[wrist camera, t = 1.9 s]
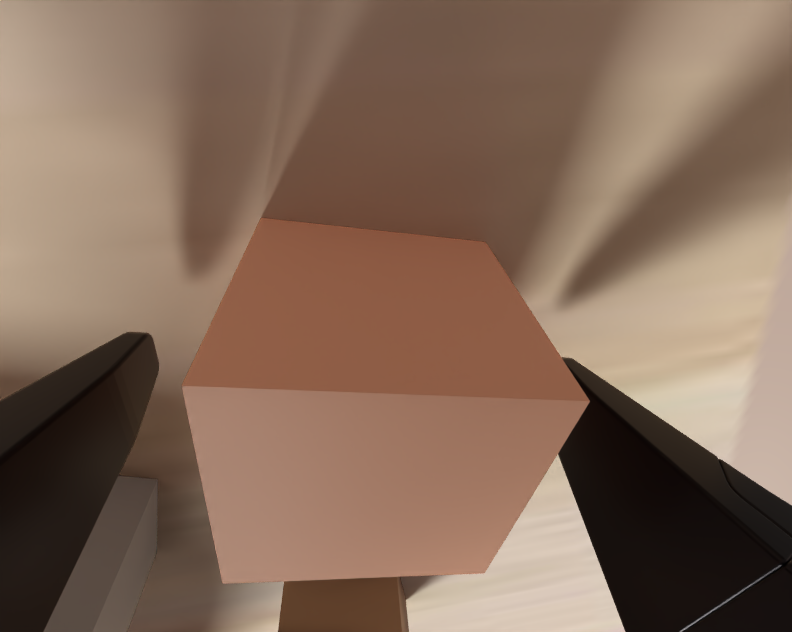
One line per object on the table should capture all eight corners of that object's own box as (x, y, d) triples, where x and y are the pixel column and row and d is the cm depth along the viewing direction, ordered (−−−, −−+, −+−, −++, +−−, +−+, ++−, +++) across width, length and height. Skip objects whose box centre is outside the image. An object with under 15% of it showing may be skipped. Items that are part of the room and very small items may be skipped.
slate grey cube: (157, 549, 16) (91, 728, 12) (6, 541, 14) (-127, 739, 10) (158, 477, 13) (74, 674, 9) (-26, 459, 12) (-220, 681, 8)
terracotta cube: (438, 391, 12) (484, 573, 8) (267, 385, 11) (222, 583, 7) (484, 240, 9) (589, 401, 5) (261, 216, 8) (181, 385, 4)
